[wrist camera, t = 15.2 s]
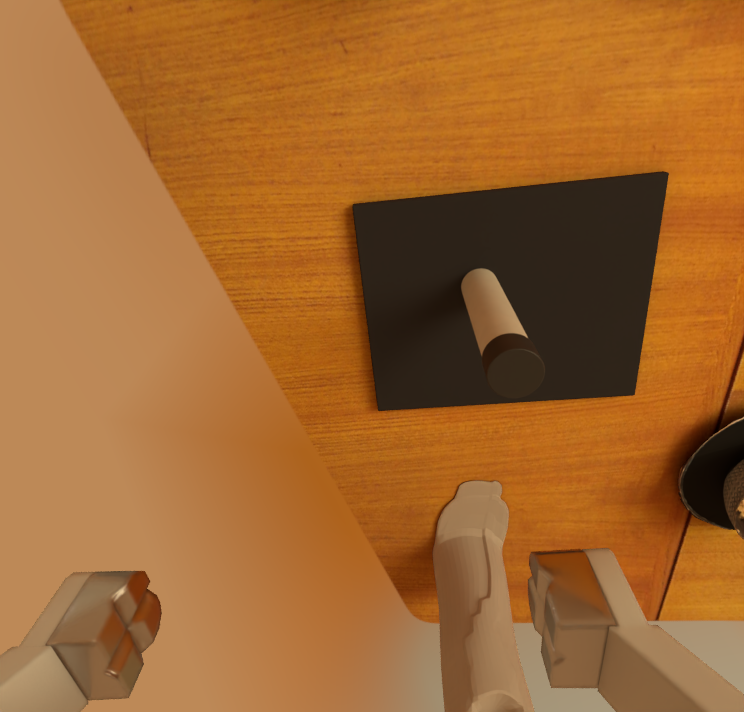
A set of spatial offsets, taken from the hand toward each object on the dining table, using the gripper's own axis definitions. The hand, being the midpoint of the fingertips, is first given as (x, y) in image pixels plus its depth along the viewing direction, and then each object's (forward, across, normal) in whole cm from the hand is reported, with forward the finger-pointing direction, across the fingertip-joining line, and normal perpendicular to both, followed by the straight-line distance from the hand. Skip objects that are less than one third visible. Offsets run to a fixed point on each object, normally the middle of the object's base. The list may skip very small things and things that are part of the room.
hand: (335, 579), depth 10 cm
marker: (+30, -8, +5) cm, 31 cm away
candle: (+30, -7, +32) cm, 44 cm away
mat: (+30, -10, +7) cm, 32 cm away
